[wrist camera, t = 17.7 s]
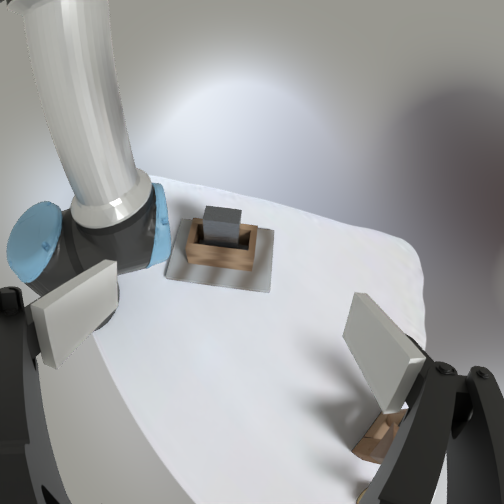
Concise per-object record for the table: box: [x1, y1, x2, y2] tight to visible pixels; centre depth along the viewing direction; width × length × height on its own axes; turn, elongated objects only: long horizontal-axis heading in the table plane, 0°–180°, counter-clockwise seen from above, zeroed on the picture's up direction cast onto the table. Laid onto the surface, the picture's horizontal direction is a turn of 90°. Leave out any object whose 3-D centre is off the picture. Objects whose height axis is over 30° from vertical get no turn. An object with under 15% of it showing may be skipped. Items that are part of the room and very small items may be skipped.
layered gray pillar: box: [203, 206, 242, 249], centre depth 51 cm, size 6×3×12 cm, turn 84°
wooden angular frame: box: [352, 409, 408, 464], centre depth 33 cm, size 4×11×18 cm, turn 136°
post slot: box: [166, 218, 274, 293], centre depth 55 cm, size 20×14×6 cm
